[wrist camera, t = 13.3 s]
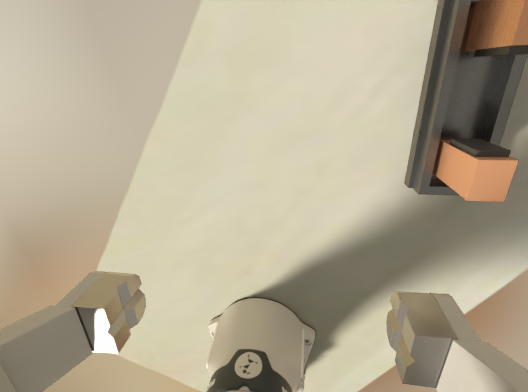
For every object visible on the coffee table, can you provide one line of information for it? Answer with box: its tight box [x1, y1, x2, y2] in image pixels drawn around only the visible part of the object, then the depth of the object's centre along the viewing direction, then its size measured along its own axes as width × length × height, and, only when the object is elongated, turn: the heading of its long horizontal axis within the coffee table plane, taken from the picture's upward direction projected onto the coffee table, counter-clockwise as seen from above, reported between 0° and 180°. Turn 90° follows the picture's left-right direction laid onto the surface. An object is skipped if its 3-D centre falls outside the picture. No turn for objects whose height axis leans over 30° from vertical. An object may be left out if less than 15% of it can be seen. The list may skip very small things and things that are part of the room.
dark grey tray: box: [405, 0, 528, 195], centre depth 28 cm, size 20×8×10 cm, turn 2°
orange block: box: [432, 139, 518, 202], centre depth 29 cm, size 5×3×8 cm
